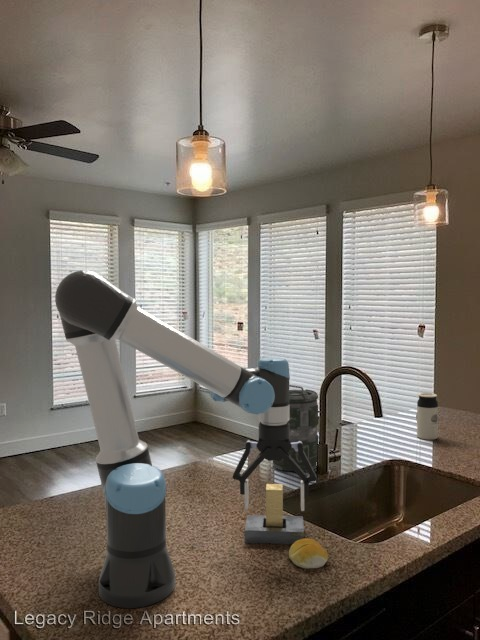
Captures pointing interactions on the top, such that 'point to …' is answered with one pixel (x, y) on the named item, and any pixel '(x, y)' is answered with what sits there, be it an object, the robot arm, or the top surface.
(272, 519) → the brass peg
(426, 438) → the travel mug
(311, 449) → the canister
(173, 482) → the top surface
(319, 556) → the bread roll
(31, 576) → the top surface
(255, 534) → the grey slotted block
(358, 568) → the top surface
